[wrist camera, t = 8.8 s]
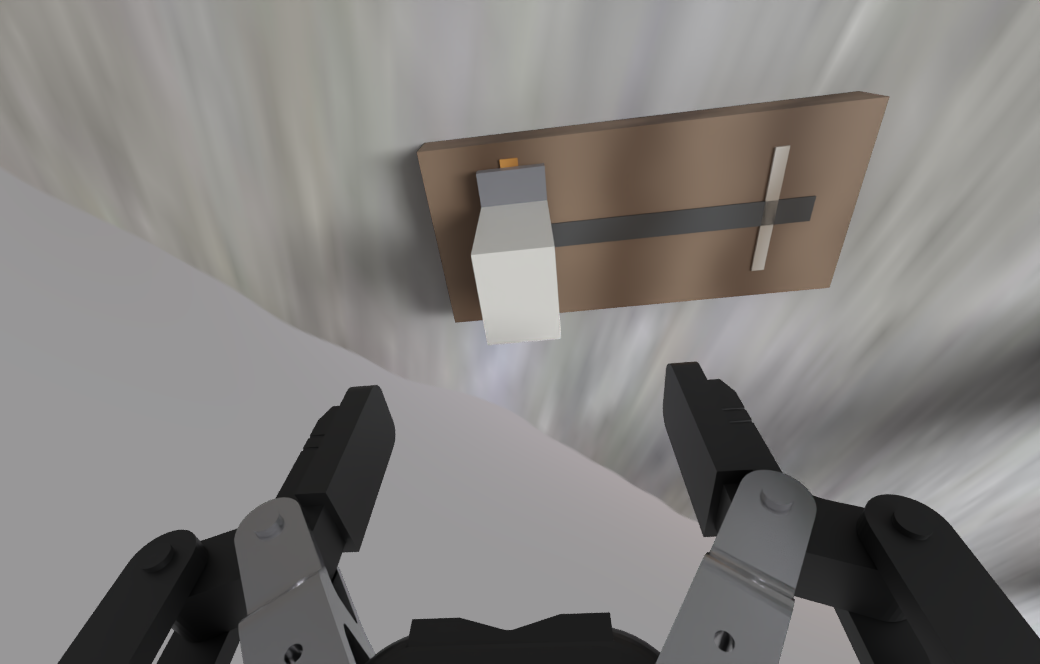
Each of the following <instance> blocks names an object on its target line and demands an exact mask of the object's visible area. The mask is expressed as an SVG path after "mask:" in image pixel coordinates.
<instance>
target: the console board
mask: <svg viewBox="0 0 1040 664" xmlns="http://www.w3.org/2000/svg"><path fill="white" fill-rule="evenodd" d="M888 100H889V96H884V95H878V94H872V93H866V92H861V91H857V92H848V93H840V94H831V95H823V96H815V97H806V98H798V99H789V100H781V101H773V102H764V103H756V104H748V105H739V106H731V107H722V108H714V109H706V110H697V111H689V112H680V113H672V114H664V115H655V116H647V117H639V118H630V119H622V120H613V121H605V122H597V123H588V124H580V125H571V126H563V127H555V128H546V129H538V130H530V131H521V132H513V133H504V134H496V135H488V136H479V137H471V138H462V139H454V140H446V141H437V142H429V143H424V144H423V146H422V147H421V148H420V149H419V150H418V151H417V156H418V161H419V165H420V169H421V174H422V178H423V183H424V187H425V191H426V196H427V200H428V205H429V209H430V213H431V218H432V222H433V226H434V231H435V235H436V240H437V244H438V248H439V253H440V257H441V262H442V266H443V270H444V275H445V279H446V284H447V288H448V292H449V297H450V301H451V305H452V310H453V314H454V319H455V323H456V322H467V321H478V320H483V317H482V312H481V307H480V301H479V296H478V291H477V285H476V280H475V274H474V269H473V264H472V258H471V252H472V248H473V243H474V239H475V234H476V230H477V225H478V221H479V216H480V211H481V202H480V196H479V190H478V184H477V177H476V172H477V171H480V170H488V169H497V168H506V167H515V166H523V165H532V164H541V163H544V166H545V178H546V191H547V202H548V208H549V215H550V221H551V227H552V233H553V239H554V246H555V259H556V273H557V287H558V301H559V313H563V312H574V311H585V310H595V309H606V308H617V307H627V306H638V305H649V304H659V303H670V302H681V301H691V300H702V299H713V298H723V297H734V296H745V295H755V294H766V293H777V292H787V291H798V290H809V289H820V288H829V287H830V284H831V281H832V278H833V275H834V271H835V268H836V265H837V262H838V259H839V256H840V252H841V249H842V246H843V243H844V240H845V236H846V233H847V230H848V227H849V224H850V221H851V217H852V214H853V211H854V208H855V205H856V202H857V198H858V195H859V192H860V189H861V186H862V182H863V179H864V176H865V173H866V170H867V167H868V163H869V160H870V157H871V154H872V151H873V148H874V144H875V141H876V138H877V135H878V132H879V128H880V125H881V122H882V119H883V116H884V113H885V109H886V106H887V103H888Z"/></svg>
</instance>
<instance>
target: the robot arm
mask: <svg viewBox="0 0 1040 664" xmlns="http://www.w3.org/2000/svg"><path fill="white" fill-rule="evenodd" d="M663 417H664V423H665V427H666V430H667V433H668V436H669V439H670V442H671V444H672V447H673V450H674V453H675V456H676V459H677V462H678V465H679V468H680V470H681V473H682V476H683V479H684V482H685V485H686V488H687V491H688V493H689V496H690V499H691V502H692V505H693V508H694V511H695V514H696V517H697V519H698V522H699V525H700V528H701V531H702V534H703V536H704V537H714V536H717V537H716V539H715V541H714V544H713V546H712V548H711V550H710V552H709V553H708V552H707V553H706V554H705V556H704V558H703V560H702V562H701V564H700V566H699V568H698V570H697V573H696V575H695V577H694V579H693V582H692V584H691V586H690V588H689V591H688V593H687V595H686V597H685V600H684V602H683V604H682V606H681V608H680V610H679V613H678V615H677V617H676V619H675V622H674V624H673V626H672V628H671V630H670V633H669V635H668V637H667V639H666V642H665V644H664V646H663V648H662V651H661V653H660V652H659V651H658V650H656V649H655V648H654V647H652V646H651V645H649V644H648V643H647V642H645V641H643V640H641V639H639V638H638V637H636V636H634V635H632V634H629V633H627V632H625V631H621V630H618V629H615V628H612V625H611V618H610V613H582V614H559V615H556V616H553V617H550V618H547V619H544V620H541V621H538V622H535V623H532V624H529V625H526V626H523V627H520V628H517V629H514V630H503V629H499V628H496V627H492V626H488V625H484V624H480V623H477V622H473V621H470V620H466V619H462V618H438V619H413V620H412V624H411V629H410V634H409V636H407V637H404V638H402V639H400V640H398V641H396V642H394V643H392V644H390V645H389V646H387V647H385V648H384V649H382V650H381V651H380V652H378V653H377V654H375V652H374V650H373V648H372V646H371V644H370V642H369V640H368V638H367V636H366V634H365V632H364V630H363V627H362V625H361V622H360V620H359V617H358V615H357V612H356V609H355V607H354V604H353V602H352V599H351V597H350V594H349V591H348V589H347V586H346V584H345V581H344V579H343V576H342V574H341V571H340V569H339V567H338V563H339V560H340V557H341V554H342V552H359V550H360V547H361V544H362V541H363V538H364V535H365V531H366V528H367V526H368V523H369V520H370V517H371V513H372V510H373V507H374V504H375V501H376V498H377V495H378V492H379V489H380V486H381V483H382V480H383V477H384V474H385V471H386V468H387V465H388V462H389V459H390V456H391V453H392V450H393V447H394V442H395V426H394V422H393V420H392V417H391V414H390V412H389V409H388V406H387V403H386V401H385V398H384V396H383V393H382V391H381V389H380V387H379V386H378V385H371V386H358V387H351V388H349V389H348V391H347V392H346V394H345V396H344V399H343V400H342V402H341V404H340V406H333V407H332V408H331V409H329V411H327V412H326V413H325V414H324V415H323V416H322V417H321V418H320V419H319V420H318V422H317V424H316V426H315V427H314V429H313V431H312V433H311V435H310V438H309V439H308V440H307V442H306V444H305V446H304V447H303V449H304V450H303V451H301V453H300V455H299V457H298V458H297V460H296V462H295V464H294V466H293V468H292V469H291V471H290V473H289V475H288V477H287V479H286V481H285V482H284V484H283V486H282V488H281V490H280V491H279V493H278V495H277V497H276V498H275V499H273V500H270V501H268V502H265V503H263V504H261V505H260V506H258V507H257V508H255V509H254V510H253V511H251V512H250V513H249V514H248V515H247V516H246V517H245V519H243V521H242V522H241V523H240V525H239V527H238V529H235V530H232V531H229V532H226V533H223V534H220V535H217V536H214V537H212V538H208V539H205V540H202V541H200V540H199V539H198V538H197V537H196V536H195V535H194V534H193V533H192V532H190V531H188V530H176V531H172V532H168V533H166V534H164V535H161V536H159V537H157V538H156V539H154V540H152V541H151V542H150V543H148V544H147V545H145V546H144V547H143V548H142V549H141V550H140V551H138V552H137V553H136V554H135V556H134V557H133V558H132V559H131V560H130V562H129V563H128V564H127V566H126V567H125V568H124V570H123V571H122V573H121V574H120V575H119V577H118V578H117V580H116V581H115V583H114V584H113V585H112V587H111V588H110V590H109V591H108V592H107V594H106V595H105V597H104V598H103V600H102V601H101V602H100V604H99V606H98V607H97V608H96V610H95V611H94V612H93V614H92V615H91V617H90V618H89V620H88V621H87V622H86V624H85V625H84V627H83V628H82V630H81V631H80V632H79V634H78V635H77V637H76V638H75V639H74V641H73V642H72V644H71V645H70V647H69V648H68V649H67V651H66V652H65V654H64V655H63V657H62V658H61V660H60V661H59V662H58V664H152V662H153V660H154V658H155V657H156V655H157V653H158V651H159V649H160V648H161V646H162V644H163V642H164V640H165V638H166V637H167V635H168V633H169V631H170V629H171V628H172V629H173V630H174V633H173V634H172V636H171V638H170V640H169V642H168V644H167V645H166V647H165V649H164V651H163V653H162V655H161V657H160V658H159V660H158V662H157V664H230V662H231V660H232V658H233V655H234V653H235V651H236V648H237V646H238V644H239V641H240V644H241V651H242V657H243V663H244V664H779V660H780V656H781V652H782V649H783V645H784V641H785V638H786V634H787V630H788V626H789V622H790V619H791V615H792V611H793V607H794V601H795V599H793V597H794V596H796V597H800V598H804V599H807V600H811V601H814V602H818V603H822V604H825V605H828V606H832V607H834V609H835V611H836V613H837V615H838V617H839V619H840V622H841V624H842V626H843V628H844V630H845V632H846V634H847V636H848V638H849V641H850V642H851V645H852V647H853V649H854V651H855V653H856V656H857V657H858V660H859V662H860V664H1040V638H1039V637H1038V636H1037V634H1036V633H1035V632H1034V631H1033V629H1032V628H1031V627H1030V626H1029V624H1028V623H1027V622H1026V620H1025V619H1024V618H1023V617H1022V615H1021V614H1020V613H1019V612H1018V610H1017V609H1016V608H1015V606H1014V605H1013V604H1012V603H1011V601H1010V600H1009V599H1008V598H1007V596H1006V595H1005V594H1004V592H1003V591H1002V590H1001V589H1000V587H999V586H998V585H997V583H996V582H995V581H994V580H993V578H992V577H991V576H990V575H989V573H988V572H987V571H986V569H985V568H984V567H983V566H982V564H981V563H980V562H979V561H978V559H977V558H976V557H975V555H974V554H973V553H972V552H971V550H970V549H969V548H968V547H967V545H966V544H965V543H964V541H963V540H962V539H961V538H960V536H959V535H958V534H957V533H956V531H955V530H954V529H953V527H952V526H951V525H950V524H949V523H948V522H947V521H946V520H945V519H944V518H943V517H942V516H941V515H940V514H938V513H937V512H936V511H934V510H933V509H931V508H929V507H928V506H926V505H924V504H922V503H920V502H918V501H916V500H913V499H911V498H907V497H904V496H899V495H891V494H886V495H879V496H876V497H874V498H872V499H870V500H869V501H868V503H867V504H866V506H865V508H863V507H858V506H854V505H849V504H844V503H839V502H834V501H830V500H826V499H822V498H819V497H816V496H813V495H811V493H810V492H809V491H808V489H807V488H806V487H805V486H804V485H803V484H801V483H800V482H799V481H797V480H796V479H794V478H792V477H790V476H788V475H786V474H784V473H782V471H781V470H780V468H779V466H778V464H777V463H776V461H775V459H774V458H773V456H772V454H771V452H770V451H769V449H768V447H767V445H766V444H765V442H764V440H763V439H762V437H761V435H760V433H759V432H758V430H757V428H756V426H755V425H754V423H752V421H751V418H750V416H749V414H748V413H747V411H746V410H745V409H744V406H743V404H742V402H741V400H740V399H739V397H738V395H737V393H736V392H735V391H734V390H733V389H731V388H730V387H729V386H728V385H726V384H725V383H724V382H723V381H721V380H720V379H714V380H707V378H706V376H705V374H704V373H703V371H702V369H701V367H700V365H699V363H698V362H684V363H671V364H668V365H667V367H666V376H665V387H664V399H663Z"/></svg>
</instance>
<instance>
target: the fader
mask: <svg viewBox="0 0 1040 664" xmlns="http://www.w3.org/2000/svg"><path fill="white" fill-rule="evenodd" d="M476 177H477V184H478V190H479V196H480V202H481V211H480V216H479V221H478V225H477V230H476V234H475V239H474V243H473V248H472V252H471V258H472V264H473V269H474V274H475V280H476V285H477V291H478V296H479V301H480V307H481V312H482V317H483V323H484V328H485V334H486V339H487V344H488V345H497V344H508V343H519V342H530V341H541V340H552V339H561V329H560V315H559V301H558V287H557V273H556V259H555V246H554V239H553V233H552V227H551V221H550V215H549V208H548V202H547V191H546V178H545V166H544V163H541V164H532V165H523V166H515V167H506V168H497V169H488V170H480V171H477V172H476Z"/></svg>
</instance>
